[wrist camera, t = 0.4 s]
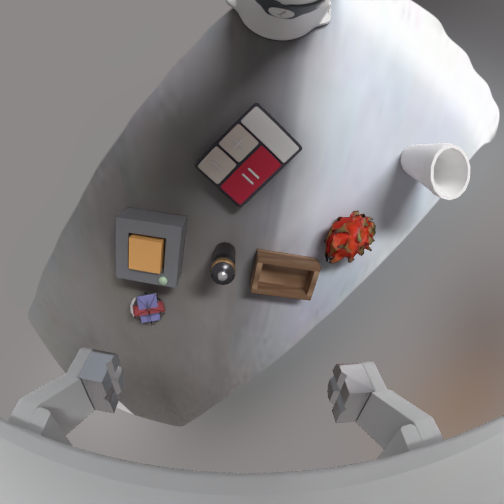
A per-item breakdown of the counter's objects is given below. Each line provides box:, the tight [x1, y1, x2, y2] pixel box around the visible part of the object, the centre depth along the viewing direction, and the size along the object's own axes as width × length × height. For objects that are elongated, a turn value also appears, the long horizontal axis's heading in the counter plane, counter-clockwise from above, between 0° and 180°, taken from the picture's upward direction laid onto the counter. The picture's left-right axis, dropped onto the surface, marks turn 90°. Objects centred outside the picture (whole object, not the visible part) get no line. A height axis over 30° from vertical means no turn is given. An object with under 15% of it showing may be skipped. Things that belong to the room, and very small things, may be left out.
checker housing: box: [115, 208, 187, 288], centre depth 54 cm, size 12×12×6 cm
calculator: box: [195, 103, 302, 207], centre depth 49 cm, size 11×4×15 cm
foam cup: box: [401, 143, 470, 200], centre depth 46 cm, size 10×9×13 cm
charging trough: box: [250, 249, 321, 300], centre depth 58 cm, size 8×12×4 cm, turn 79°
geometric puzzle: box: [130, 292, 166, 326], centre depth 59 cm, size 7×7×8 cm
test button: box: [129, 233, 166, 274], centre depth 52 cm, size 6×6×3 cm
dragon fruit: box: [324, 211, 376, 263], centre depth 54 cm, size 8×8×12 cm
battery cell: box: [211, 242, 235, 285], centre depth 54 cm, size 4×4×10 cm
